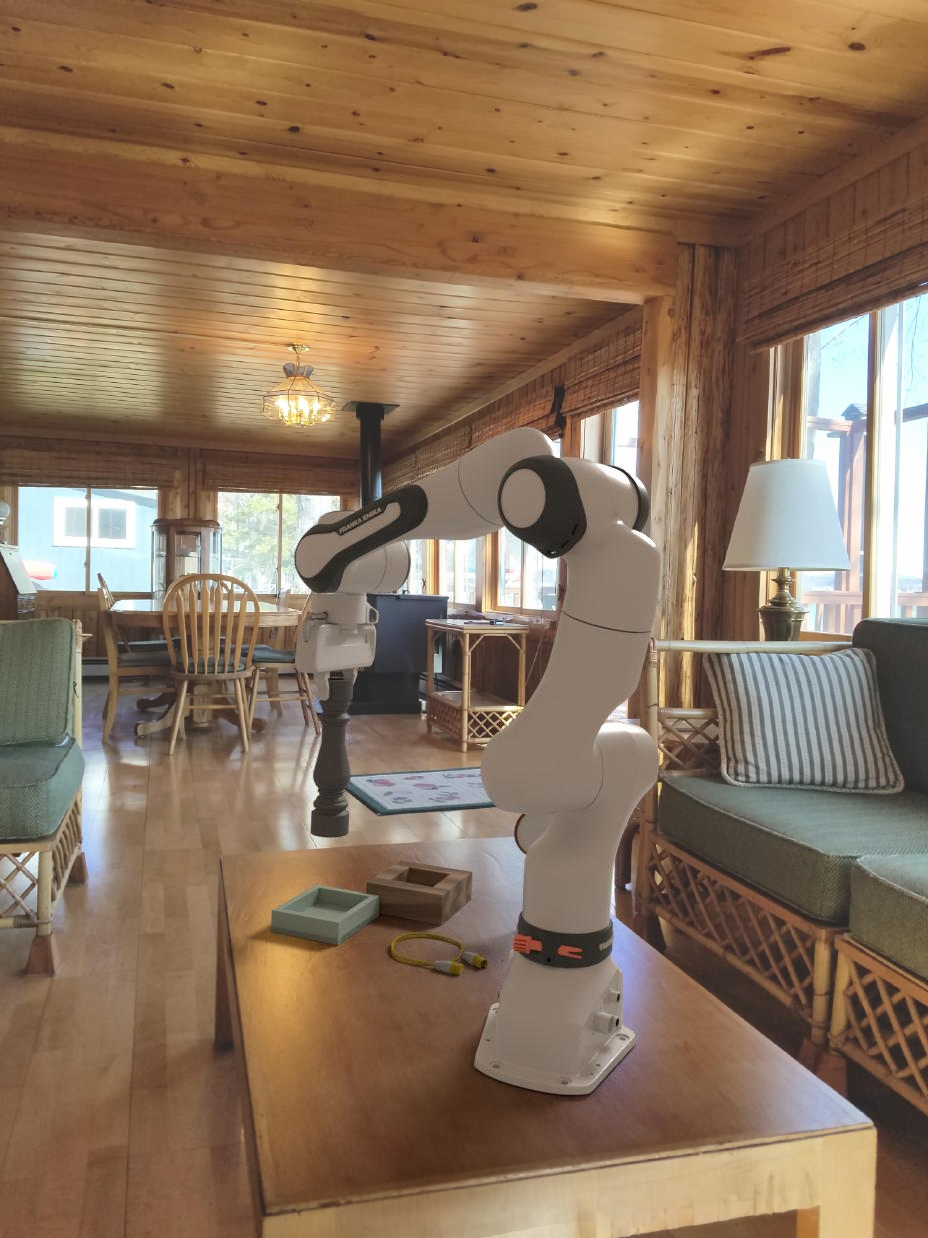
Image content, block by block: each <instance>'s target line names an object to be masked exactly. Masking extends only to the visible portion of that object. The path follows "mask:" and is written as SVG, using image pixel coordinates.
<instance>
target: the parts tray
mask: <svg viewBox="0 0 928 1238" xmlns="http://www.w3.org/2000/svg"><path fill="white" fill-rule="evenodd" d="M379 917H380V914H379V895H374V894H368V893H366V892H362V891H361V892H360V891H354V890H351V889H344V888H338V887H333V886H327V885H321V884H316V885H314V886H312V887H310V888H308V889H307V890H305V891H303V892H301V893H299V894H298V895H296V896H294V897H292V898H290V899H289V900H287V901H285V902H283V903H282V904H280V905H278V906H276V907H274V908H272V909H271V918H270V919H271V923H270V924H271V925H270V933H274V932H275V934H279V933H281V934H280V935H284V936H289V937H294V936H296V937H295V938H299V937H300V939H304V938H306V939H305V940H309V939H310V941H313V942H314V941H315V940H316V941H315V942H319V943H325V944H330V945H334V946H339V945H341V944H342V943H343V942H345V941H346V940H348V938H350V937H351V936H353V935H354V934H356V933H357V932H359V931H360V930H361V929H363V928H364V927H366V926H367V925H369V924H370V923H372V922H373V921H374V920H376V919H377V918H379Z"/></svg>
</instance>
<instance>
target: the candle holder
mask: <svg viewBox="0 0 928 1238" xmlns="http://www.w3.org/2000/svg"><path fill="white" fill-rule="evenodd" d="M328 683H329V688H331V689H332V694H331V695H332V698H331V699H329V700H319V699H318V700H319V701H318V703H319V705H320V707H321V710H322V712H321V713H319V714H318V716H317V718H318V721H319V722H320V723H321V724H320V725H321V743H320V746H319V750H318V753H317V758H316V760H315V765H314V768H313V772H312V779H313V782H314V784H315V786H316V787H317V793H318V795H317V796H316V797H315V799H314V800H313V802H312V804H313V805H312V807H313V808H314V809H311V813H310V834H311V835H312V836H315V837H317V838H325V839H326V838H327V839H328V838H329V839H331V838H335V839H336V838H341V837H346V836H347V835H349V832H350V831H349V830H350V829H349V827H350V811H349V810H348V809H347V808H348V807H349V803H348V800H347V799H346V797H345V795H344V793H345V792H346V790H345V789H346V788H347V787H348V785H349V783H350V781H351V777H352V776H351V774H352V773H351V767H350V763H349V758H348V757H349V756H348V752H347V746H346V734H347V733H346V731H347V730H346V728H347V725H348V723H349V722H350V721H351V716H350V714H348V712H347V711H348V710H349V707H350V705H351V704H352V702H351V701H352V700H353V698H354V697H353V696H354V695H353V694H354V685H353V679H350V678H343V677H338V676H335V677H332V676H331V677H330V678H328Z"/></svg>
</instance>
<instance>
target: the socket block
mask: <svg viewBox="0 0 928 1238" xmlns="http://www.w3.org/2000/svg"><path fill="white" fill-rule="evenodd" d="M365 888H366V890H365V893H368V894H374V895H379V915H384V916H389V917H394V918H398V919H399V918H400V919H406V920H411V921H417V922H422V923H428V924H433V925H438V926H443V925H444V924H445V923H446V922H447V921H448V920H450V919H451V918H452V917H453V916H454V915H455V914H457V912H459V910H461V909H462V908H463V907H465V906H466V905H467V904H468V903H469V902H471V900H472V893H473V892H472V891H473V871H470V870H469V871H468V870H464V869H463V870H462V869H457V868H452V867H443V866H437V865H431V864H424V863H418V862H414V861H413V862H411V861H406V860H399V861H398V862H397V863H395V864H394V865H392V866H390V867H388V868H387V869H386V870H384V871H382V872H380V873H379V874H377V875H375V877H373V878H371V879H370V880H368V881H366V887H365Z"/></svg>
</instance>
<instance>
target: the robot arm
mask: <svg viewBox="0 0 928 1238" xmlns="http://www.w3.org/2000/svg"><path fill="white" fill-rule="evenodd" d="M649 515H650V497H649V493H648V491H647V489H646V487H645V485H644V484H643V483H642V481H641V480H640V479H639V478H638V477H637V476H635V475H634V474H633V473H631V472H629V471H628V470H626V469H623V468H622V467H619V466H616V465H610V464H603V463H599V462H595V461H593V460H590V459H588V458H584V457H577V456H576V457H575V456H573V457H572V456H560V453H559V451H558V449H557V447H556V445H555V444H554V442H553V441H552V440H551V438H550V437H548V435H547V434H545V433H544V432H543V431H541V430H539V429H537V428H534V427H531V426H530V427H529V426H520V427H516V428H514V429H510V430H508V431H506V432H503V433H501V434H498V435H496V436H494V437H491V438H490V439H488V440H486V441H484V442H482V443H480V444H479V445H477V446H475V447H474V448H473V449H471V450H469V451H468V452H466V453H465V454H463V455H462V456H461V457H459V458H458V459H456V460H454V461H453V462H451V463H449V464H448V465H446V466H444V467H443V468H441V469H439V470H437V471H435V472H433V473H431V474H429V475H428V476H426V477H423V478H421V479H419V480H417V481H413V483H410V484H408V485H405V486H402V487H401V488H398V489H396V490H394V491H391V492H390V493H388V494H385V495H383V496H382V497H379V498H377V499H375V500H374V501H372V502H371V503H368V504H367V505H365V506H364V507H361V508H360V509H358V510H350V509H347V510H346V509H342V510H333V511H328V512H326V513H324V514H322V515H321V516H320V517H319V518H318V521H317V523H316V524H314V525H313V526H312V527H310V528H309V529H308V530H307V531H306V532H305V533H303V535H302V536H301V538H300V539H299V541H298V543H297V545H296V547H295V550H294V555H293V556H294V557H293V562H294V568H295V570H296V572H297V575H298V576H299V578H300V579H301V581H302V582H303V584H305V586H306V587H307V588H308V589H309V590H310V592H311V594H310V597H311V599H310V601H311V602H310V612H309V613H308V614H307V616H306V617H305V619H304V620H303V621H302V625H301V626H300V628H299V629H298V630H299V631H298V635H297V642H296V650H295V659H294V664H295V668H296V671H297V672H299V673H302V674H304V673H306V674H313V680H314V684H315V687H316V689H317V699H318V700H329V699H331V698H332V695H331V694H332V689H331V688H329V683H328V678H330V676H331V675H330V674H331V673H330V672H334V671H335V672H336V671H342V675H343V677H342V678H350V679H353V686H354V684H355V682H356V679H357V676H358V669H359V668H366V667H372V664H373V662H374V660H375V655H376V644H377V629H376V626H375V624H378V622H379V611H378V610H377V609H375V608H374V607H373V606H372V605H371V604H370V603H369V602H367V594H387V593H391V592H396V591H398V590H400V589H401V588H402V587H403V585H404V584H405V583H406V582H407V580H408V578H409V576H410V572H411V568H412V567H411V566H412V559H411V557H412V556H411V552H410V549H409V546H408V545H407V542H406V541H413V540H414V541H415V540H437V541H438V540H439V541H441V540H443V541H446V540H447V541H469V540H474V539H477V538H481V537H485V536H486V535H491V534H492V533H495V532H497V531H499V530H501V529H503V528H506V529H507V530H508V531H509V533H511V534H512V535H513V536H514V537H516V538H517V539H519V540H520V541H522V542H524V543H526V544H527V545H529V546H531V547H533V548H534V549H536V551H538V553H540V554H541V555H542V556H543V557H546V558H547V559H549V560H553V559H558V558H560V557H562V558H563V559H564V561H565V563H566V566H567V571H568V579H567V585H566V586H567V587H566V591H565V594H564V598H563V603H562V606H561V612H560V616H559V621H558V626H557V629H556V634H555V637H554V640H553V645H552V649H551V652H550V657H549V660H548V663H547V666H546V668H545V671H544V673H543V675H542V677H541V679H540V682H539V683H538V685H537V687H536V688H535V690H534V691H533V694H532V695H531V697H530V698H529V700H528V701H527V703H526V704H525V706H524V707H523V708H522V709H521V711H520V712H519V713H518V715H517V716H516V717H515V718H514V719H513V720H512V721H511V722H510V723H509V724H507V726H505V727H504V728H503V729H502V730H500V731H499V732H497V733H496V734H495V735H493V736H492V737H491V738H490V739H489V741H488V742H487V743H486V746H485V748H484V749H483V752H482V755H481V760H480V766H479V767H480V772H479V773H480V780H481V783H482V786H483V789H484V791H485V794H486V796H487V797H488V799H489V800H490V801H491V803H493V805H494V806H495V807H496V808H497V809H499V810H501V811H502V812H503V811H504V812H506V813H513V814H521V815H522V814H529V815H544V814H551V813H555V814H554V816H553V818H552V821H551V822H550V824H549V826H548V828H547V829H546V831H545V832H544V833H543V834H542V835H541V836H540V837H539V838H538V839H537V840H536V841H535V842H534V843H533V844H532V845H531V847H530V848H529V850H528V851H527V854H525V858H524V861H523V862H524V865H523V885H522V888H523V889H522V907H521V908H522V910H521V911H520V912H519V914H518V915H519V916H518V921H517V924H516V930H515V936H514V939H513V943H512V949H511V950H509V958H508V959H509V962H508V963H507V964H508V966H507V969H506V971H505V972H506V974H505V977H504V981H503V985H502V988H501V989H500V990H499V991H498V995H497V998H498V1002H494V1003H493V1004H491V1006H490V1007H489V1011H488V1014H487V1018H486V1021H485V1024H484V1027H483V1030H482V1034H481V1036H480V1041H479V1043H478V1046H477V1049H476V1052H475V1057H474V1062H473V1063H474V1064H473V1066H474V1068H476V1069H477V1070H478V1071H480V1072H481V1073H483V1074H484V1075H487V1076H488V1077H491V1078H493V1079H495V1080H498V1081H501V1082H503V1083H507V1084H510V1085H513V1086H516V1087H520V1088H524V1089H529V1090H533V1091H538V1092H542V1093H543V1092H544V1093H549V1094H556V1095H569V1096H570V1095H572V1096H573V1095H575V1096H579V1095H580V1096H581V1095H588V1094H591V1093H592V1092H593V1091H594V1090H595V1089H596V1088H597V1087H598V1086H599V1085H600V1084H601V1082H602V1081H603V1080H604V1079H605V1078H606V1077H607V1076H608V1075H609V1074H610V1073H611V1071H612V1070H613V1069H614V1068H615V1067H616V1066H617V1065H618V1064H619V1063H620V1061H621V1060H622V1059H623V1058H624V1057H625V1056H627V1054H629V1052H630V1050H631V1049H633V1047H634V1046H635V1045H636V1043H637V1041H636V1033H635V1032H634V1031H633V1030H632V1029H630V1028H628V1027H626V1026H625V1025H624V973H623V971H622V970H621V969H620V967H619V966H618V965H617V964H616V962H615V960H614V959H613V956H612V955H611V954H612V952H613V944H614V943H613V942H614V923H613V920H612V919H611V902H612V889H613V879H614V878H613V876H614V875H613V874H614V866H615V861H616V858H617V857H616V856H617V853H618V849H619V847H620V843H621V839H622V837H623V834H624V832H625V830H626V827H627V825H628V823H629V820H630V818H631V816H632V814H633V812H634V810H635V809H636V807H637V806H638V804H639V802H640V801H641V800H642V798H643V797H644V796H645V795H646V794H647V793H648V792H649V791H650V790H651V789H652V788H653V786H654V785H655V784H656V781H657V779H658V777H659V776H658V775H659V771H660V755H659V751H658V748H657V745H656V742H655V740H654V739H653V737H652V735H651V734H649V733H648V731H647V730H645V729H644V728H643V727H641V726H639V725H638V724H633V723H628V722H624V721H619V720H614V719H608V718H609V717H610V716H611V715H612V714H613V712H614V711H616V709H617V708H618V707H620V706H621V705H622V704H624V703H625V702H626V701H627V700H629V699H630V697H632V696H633V695H634V693H635V691H636V690H637V688H638V685H639V683H640V680H641V676H642V675H641V674H642V672H643V671H642V670H643V666H644V663H645V660H646V655H647V652H648V646H649V642H650V638H651V634H652V630H653V627H654V623H655V622H654V621H655V618H656V612H657V607H658V599H659V591H660V584H661V583H660V582H661V581H660V579H661V567H662V566H661V562H662V560H661V553H660V550H659V548H658V547H657V545H656V543H655V542H654V541H653V540H652V539H651V538H649V537H648V536H647V535H645V534H644V533H641V532H642V531H643V529H644V528H645V526H646V524H647V521H648V518H649Z"/></svg>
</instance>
